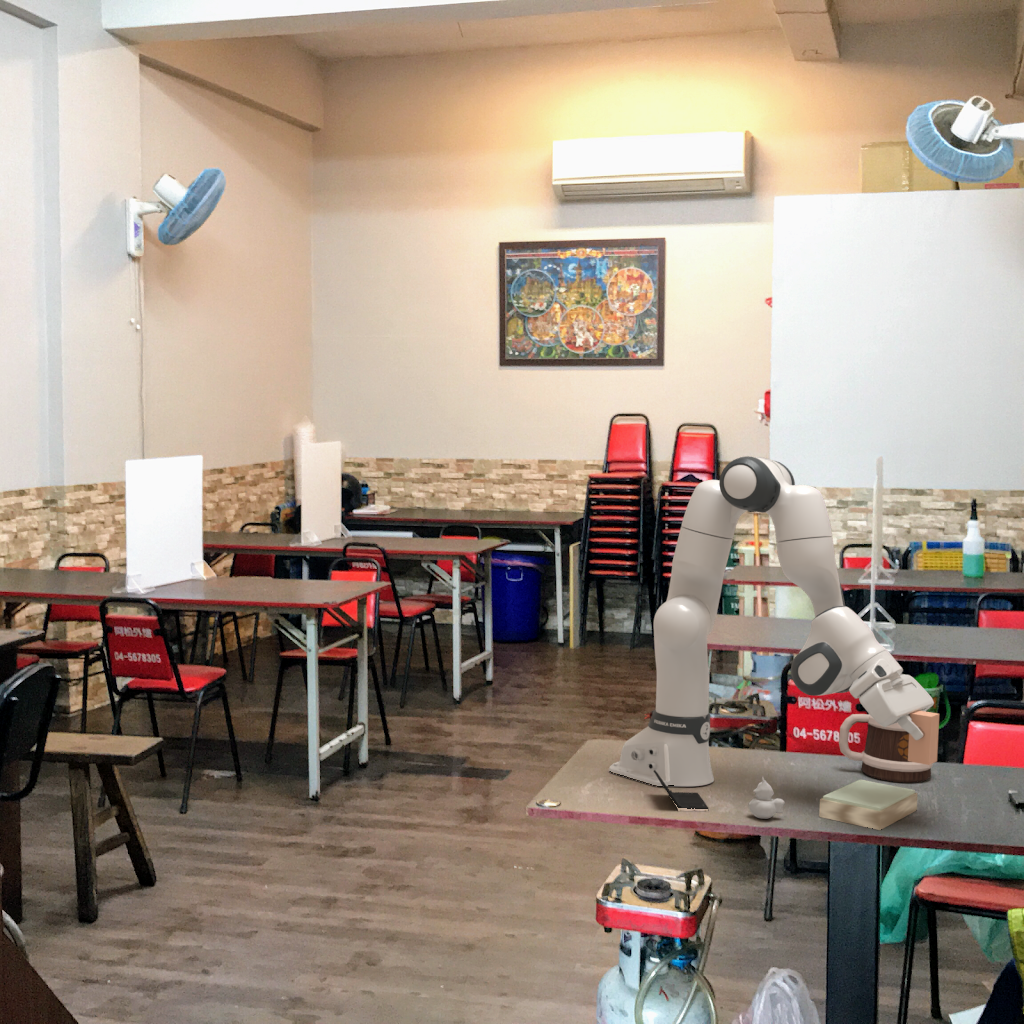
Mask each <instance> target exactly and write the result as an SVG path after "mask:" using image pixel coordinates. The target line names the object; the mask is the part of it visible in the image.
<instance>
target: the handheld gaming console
mask: <svg viewBox="0 0 1024 1024" xmlns="http://www.w3.org/2000/svg"><path fill="white" fill-rule="evenodd" d="M654 773H655V774H656V776H657V778H658V779H659V781H660V783H661V784H662V786H663V787H662V788H663V789H664V790H665V791H666V793H667V794H668V797H669V796H670V797H671V798H672V800H673V801H674V803H675V804H676V805H677V807H678V808H687V809H691V808H692V809H694V808H695V809H708V810H709V807H708V805H707V804H706V802H705V801H704V800H703V798H702V797H701V796H700V794H699V792H690V791H689V792H687V791H686V792H681V791H678V792H677V791H672V790H671V789H669V786H666V784H665V783H664V782H663V780H662V779H661V777H660V776H659V774H658V773H657V772H656V771H655V770H654ZM670 797H669V798H670ZM672 800H671V801H672Z"/></svg>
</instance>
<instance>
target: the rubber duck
mask: <svg viewBox="0 0 1024 1024" xmlns="http://www.w3.org/2000/svg"><path fill="white" fill-rule="evenodd" d="M753 792H754V796H755V797H754V798H752V799H751V800H750V801H749V803H748V809H749V812H750V813H751V814H752V815H753V816H754V817H755V818H757V819H762V820H763V819H764V820H767V819H770V818H772V817H774V815H775V814H783V812H784V808H783V807H784V806H785V803H786V801H785V800H783V798H780V797H777V798H772V797H773V796H774V794H775V793H774V790H773V788H772V786H771V785H770V783H768V781H767V780H765V778H764V775H762V777H761V781H760V782H759V783H758V784H757V787H756V788H754V789H753Z"/></svg>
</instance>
